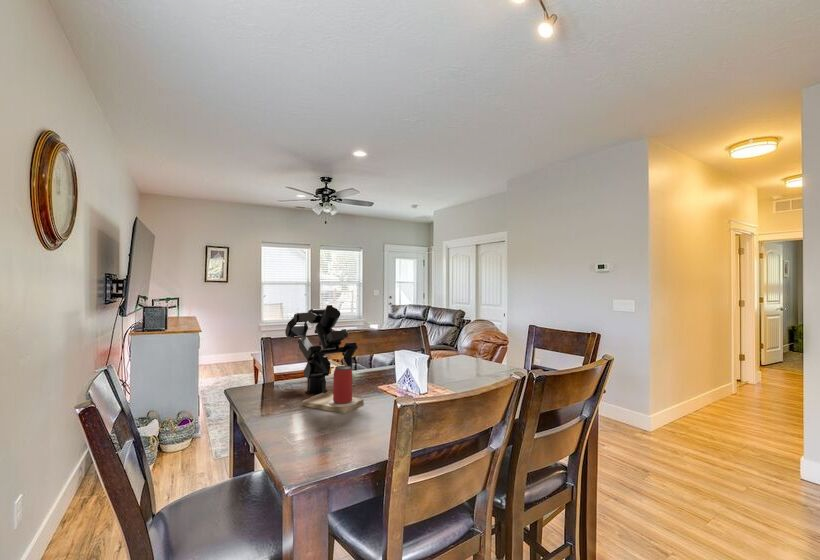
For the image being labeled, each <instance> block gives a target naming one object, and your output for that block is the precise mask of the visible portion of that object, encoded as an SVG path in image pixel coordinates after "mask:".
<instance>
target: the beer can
mask: <svg viewBox="0 0 820 560" xmlns="http://www.w3.org/2000/svg"><path fill="white" fill-rule="evenodd" d="M332 390H333V392H332V394H333V401H334V402H335V403H337V404H347V403H349V402H351V401H352V397H353V371H352V369H351V367H350V366H347V365H337V366H335V367H334V372H333V389H332Z"/></svg>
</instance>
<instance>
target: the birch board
mask: <svg viewBox="0 0 820 560" xmlns="http://www.w3.org/2000/svg"><path fill="white" fill-rule="evenodd" d="M363 404H364V398H359V397H354V396H352V401H351V402H349V403H347V404H337V403H335V402H334V401H333V393H326V392H323V393H320V394H315V395H313V396H311V397H309V398H306V399H304V400H301V406H303V407H306V408H307V407H308V408H314V409H318V410H324V411H330V412H335V413H340V414H341V413H342V414H347V413H349V412H350V411H352V410H354V409H356V408H358V407H359V406H361V405H363Z"/></svg>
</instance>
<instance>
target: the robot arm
mask: <svg viewBox="0 0 820 560" xmlns="http://www.w3.org/2000/svg"><path fill="white" fill-rule="evenodd" d="M340 317H341V312H340V310H339V309H337V308H336V307H334V306H333V305H332V304H330V305H329V304H327V305H326V307H325V308H311V309H309V310H308V311H307V312H295V314H293V317H292V318H291V319H290V320H289V321H288V323H287V324H286V328H285V331H284V332H285V336H286V337H294V336H304V337H306V338H299V340H298V343H299V347H298V348H299V350H300V352H301V353H302V354H303V356H304V357H305V360H306V365H305V367H304V370H303V377H304V378H307V385H306V386H307V387H306V390H305V391H304V393H305V394H311V395H318V394H320V393H326V392H327V391H328V389H327V380H326V377H329V374H330V371H331V370H330V369H331V362H330V360H329V357H328V356H327V355H328V354H329V355H333V354H341V355H342V356H343V357H342V358H343V360H344V362H345V364H346V366H350V367H351V370H352V369H353V356H354V354H355V352H356V351H357V350H358V347H359V346H358V344H357V343H356V341H352V342H351V341H350V342H345V344H344V346H341V344H342V341H344V340H345V339H347V338H348V336H349V333H348V331H347V329H346V328H345V329H344V328H342V329H341V330H333V328H334V327H335V326H336V324H337V322H338V320H339V319H340ZM307 322H308V323H309V324H312V325H315V324H316V326H315V330H314V334H317V336H318V339H319V342H318V345H313V344H312V343H311V341H310V340H309V338H308V337H307V333H308V331H309V325H308V323H307ZM297 323H304V324H297Z"/></svg>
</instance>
